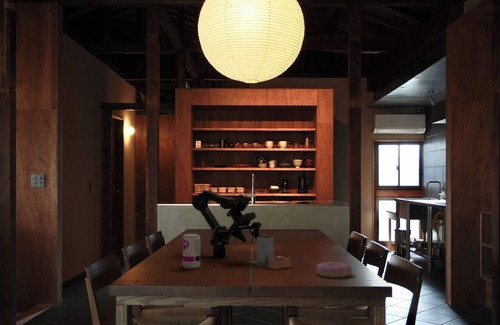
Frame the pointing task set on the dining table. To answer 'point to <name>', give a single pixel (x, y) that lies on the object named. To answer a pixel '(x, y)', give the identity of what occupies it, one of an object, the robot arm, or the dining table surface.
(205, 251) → the dining table surface
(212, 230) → the robot arm
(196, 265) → the supplement can
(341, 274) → the donut
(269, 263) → the block
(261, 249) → the lock block
